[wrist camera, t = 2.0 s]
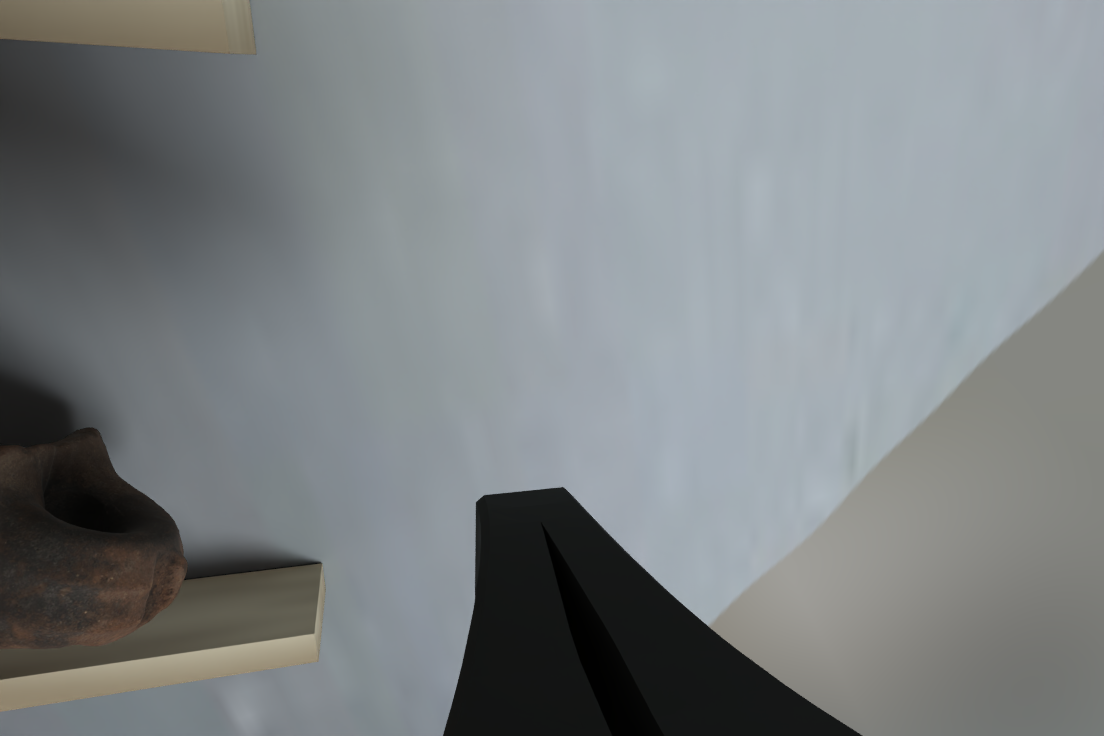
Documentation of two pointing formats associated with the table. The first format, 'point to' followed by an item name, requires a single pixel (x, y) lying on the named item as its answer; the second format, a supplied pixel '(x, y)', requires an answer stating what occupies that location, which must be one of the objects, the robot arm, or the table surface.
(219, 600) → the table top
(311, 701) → the table surface
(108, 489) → the pottery mug
